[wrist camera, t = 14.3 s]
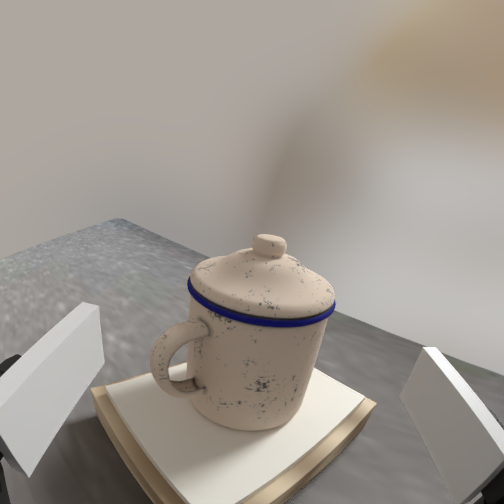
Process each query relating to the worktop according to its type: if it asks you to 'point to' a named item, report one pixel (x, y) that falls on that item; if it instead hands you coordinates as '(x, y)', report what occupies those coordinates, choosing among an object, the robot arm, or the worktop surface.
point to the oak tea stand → (225, 442)
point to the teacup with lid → (248, 336)
